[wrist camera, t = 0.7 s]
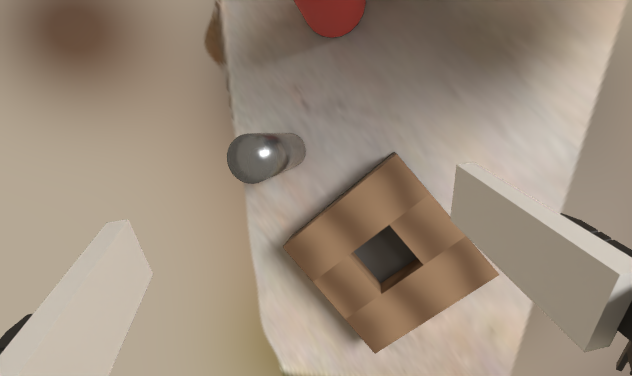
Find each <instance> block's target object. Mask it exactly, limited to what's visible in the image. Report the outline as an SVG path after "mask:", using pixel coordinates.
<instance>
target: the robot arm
mask: <svg viewBox="0 0 632 376" xmlns="http://www.w3.org/2000/svg"><path fill="white" fill-rule="evenodd" d="M450 220H451V221H452V222H453V223H454V224H455V225H456V226H457V227H458V228H459V229H460V230H461V231H462V232H463V233H464V234H465V235H466V236H467V237H468V238H469V239H470V240H471V241H472V242H473V243H474V244H475V245H476V246H477V247H478V248H479V249H480V250H481V251H482V252H483V253H484V254H485V255H486V256H487V257H488V258H489V259H490V260H491V261H492V262H493V263H494V264H495V265H496V266H497V267H498V268H499V269H500V270H501V271H502V272H503V273H504V274H505V275H506V276H507V277H508V278H509V279H510V280H511V281H512V282H513V283H514V284H515V285H516V286H517V287H518V288H519V289H520V290H521V291H522V292H523V293H524V294H525V295H527V296H528V297H529V298H530V299H531V300H532V301H533V302H534V303H535V304H536V305H537V306H538V307H539V308H540V309H541V310H542V311H543V312H544V313H545V314H546V315H547V316H548V317H549V318H550V319H551V320H552V321H553V322H554V323H555V324H556V325H557V326H558V327H559V328H560V329H561V330H562V331H563V332H564V333H565V334H566V335H567V336H568V337H569V338H570V339H571V340H572V341H573V342H574V343H575V344H576V345H577V346H578V347H579V348H580V349H581V350H582V351H583V352H587V351H592V350H596V349H600V348H604V347H609V346H610V344H611V342H612V341H613V339H614V337H615V335H616V333H617V331H619V332H620V333H622V334H623V335H624V336H625V337H627V338H628V339H629V342H628V344H627V345H626V347H625V349H624V351H623V353H622V354H621V356H620V358H619V360H618V362H617V365H616V370H619V371H622V370H623V368H624V366H625V365H626V363H627V362H629V364H630V367H631V372H630V375H632V250H631V249H629V248H627V247H626V246H624V245H622V244H620V243H619V242H617V241H615V240H611V238H610V237H609V236H607V235H605V234H604V233H602V232H598V230H596V229H595V228H593V227H592V226H590V225H588V224H586V223H585V222H583V221H581V220H578V219H576V218H573V217H570V216H568V215H565V214H562V213H560V214H559V213H557V212H556V211H554V210H552V209H551V208H549V207H548V206H546V205H544V204H543V203H541V202H539V201H538V200H536V199H534V198H533V197H531V196H529V195H528V194H526V193H524V192H523V191H521V190H519V189H518V188H516V187H515V186H513V185H511V184H510V183H508V182H506V181H505V180H503V179H501V178H500V177H498V176H496V175H495V174H493V173H491V172H490V171H488V170H486V169H485V168H483V167H482V166H480V165H478V164H477V163H475V162H470V163H464V164H458V165H457V166H456V174H455V183H454V191H453V200H452V209H451V217H450ZM152 276H153V273H152V270H151V268H150V266H149V264H148V262H147V259H146V257H145V255H144V253H143V251H142V248H141V246H140V244H139V242H138V240H137V237H136V235H135V233H134V231H133V229H132V227H131V224H130V222H129V220H128V219H126V220H120V221H113V222H107V223H106V224H105V225H104V227H103V228H102V229H101V230H100V232H99V233H98V234H97V235H96V237H95V238H94V239H93V240H92V242H91V243H90V244H89V245H88V247H87V248H86V249H85V250H84V251H83V253H82V254H81V255H80V256H79V258H78V259H77V260H76V262H75V263H74V264H73V265H72V266H71V268H70V269H69V270H68V271H67V273H66V274H65V275H64V276H63V278H62V279H61V280H60V281H59V283H58V284H57V285H56V286H55V287H54V289H53V290H52V291H51V292H50V294H49V295H48V296H47V297H46V299H45V300H44V301H43V302H42V304H41V305H40V306H39V307H38V309H37V310H36V311H35V312H34V313H33V314H29V315H26V316H25V317H24V318H23V319H22V320H20V321H19V322H18V323H17V324H15V325H14V326H13V327H12V328H10V329H9V330H8V331H7V332H6V333H5V334H4V335H3V336H2V337H1V339H0V376H109V374H110V371H111V369H112V367H113V365H114V362H115V360H116V358H117V356H118V353H119V351H120V349H121V346H122V344H123V342H124V339H125V337H126V335H127V333H128V331H129V328H130V326H131V324H132V321H133V319H134V317H135V315H136V312H137V310H138V308H139V305H140V303H141V301H142V299H143V297H144V294H145V292H146V290H147V287H148V285H149V283H150V281H151V278H152Z"/></svg>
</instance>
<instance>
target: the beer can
mask: <svg viewBox="0 0 632 376" xmlns="http://www.w3.org/2000/svg"><path fill="white" fill-rule="evenodd" d="M294 2H295V3H296V5H297V7H298V8H299V10H300V12H301V13H302V15H303V17H304V19H305V20H306V22H307V24H308V25H309V26H310V27H311V28H312V30H313V31H315V32H316V33H318V34H320V35H321V36H325V37H330V38H333V37H339V36H342V35H344V34H346V33H348V32H350V31H351V30H352V29H353V28H354V27H355V26H356V25H357V24H358V23H359V21H360V19H361V17H362V16H363V13H364V8H365V4H366V2H365V0H294Z"/></svg>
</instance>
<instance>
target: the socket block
mask: <svg viewBox="0 0 632 376" xmlns="http://www.w3.org/2000/svg"><path fill="white" fill-rule="evenodd" d="M283 248H284V249H285V250H286V252H287V253H288V254H289V255H290V256H291V257H292V258H293V260H294V261H295V262H296V263H297V264H298V265H299V267H300V268H301V269H302V270H303V271H304V272H305V273H306V275H307V276H308V277H309V278H310V279H311V280H312V282H313V283H314V284H315V285H316V286H317V287H318V288H319V290H320V291H321V292H322V293H323V294H324V295H325V297H326V298H327V299H328V300H329V301H330V302H331V303H332V305H333V306H334V307H335V308H336V309H337V310H338V312H339V313H340V314H341V315H342V316H343V317H344V319H345V320H346V321H347V322H348V323H349V324H350V325H351V327H352V328H353V329H354V330H355V331H356V332H357V334H358V335H359V336H360V337H361V338H362V339H363V340H364V342H365V343H366V344H367V345H368V346H369V347H370V349H371V350H372V351H373V352H374V353H377V352H378V351H380V350H382V349H383V348H385V347H386V346H388V345H389V344H391V343H393V342H394V341H396V340H397V339H399V338H401V337H402V336H404V335H405V334H407V333H408V332H410V331H412V330H413V329H415V328H416V327H418V326H419V325H421V324H423V323H424V322H426V321H427V320H429V319H430V318H432V317H434V316H435V315H437V314H438V313H440V312H442V311H443V310H445V309H446V308H448V307H449V306H451V305H453V304H454V303H456V302H457V301H459V300H460V299H462V298H464V297H465V296H467V295H468V294H470V293H471V292H473V291H475V290H476V289H478V288H479V287H481V286H483V285H484V284H486V283H487V282H489V281H490V280H492V279H494V278H495V277H497V276H498V275H499V274H498V272H497V271H496V270H495V269H494V268H493V267H492V265H491V264H490V263H489V262H488V261H487V259H486V258H485V257H484V256H483V255H482V254H481V252H480V251H479V250H478V249H477V248H476V247H475V245H474V244H473V243H472V242H471V241H470V240H469V238H468V237H467V236H466V235H465V234H464V233H463V232H462V231H461V230H460V229H459V228H458V227H457V226H456V225H455V224H454V223H453V222H452V221H451V220H450V216H449V215H448V214H447V212H446V211H445V210H444V209H443V208H442V207H441V205H440V204H439V203H438V202H437V201H436V200H435V198H434V197H433V196H432V195H431V194H430V193H429V191H428V190H427V189H426V188H425V187H424V185H423V184H422V183H421V182H420V181H419V180H418V178H417V177H416V176H415V175H414V174H413V173H412V171H411V170H410V169H409V168H408V167H407V165H406V164H405V163H404V162H403V161H402V160H401V158H400V157H399V156H398V155H397V154H396V153H395V152H394V153H393V154H391V155H390V156H389V157H388V158H386V159H385V160H384V161H383V162H382V163H380V164H379V165H378V166H377V167H375V168H374V169H373V170H372V171H371V172H369V173H368V174H367V175H366V176H365V177H363V178H362V179H361V180H360V181H358V182H357V183H356V184H355V185H354V186H352V187H351V188H350V189H349V190H347V191H346V192H345V193H344V194H343V195H341V196H340V197H339V198H338V199H336V200H335V201H334V202H333V203H332V204H330V205H329V206H328V207H327V208H326V209H324V210H323V211H322V212H321V213H319V214H318V215H317V216H316V217H315V218H313V219H312V220H311V221H310V222H308V223H307V224H306V225H305V226H304V227H302V228H301V229H300V230H299V231H298V232H296V233H295V234H294V235H293V236H291V237H290V239H289V240H288V241H287V243H286V244H285V245H284V246H283Z"/></svg>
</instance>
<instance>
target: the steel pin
mask: <svg viewBox="0 0 632 376" xmlns="http://www.w3.org/2000/svg"><path fill="white" fill-rule="evenodd" d="M305 153H306V148H305V144H304V142H303V141H302V139H301V138H300V137H298V136H297V135H295V134H291V133H266V134H243V135H241V136H239V137H237V138H236V139H235V140H234V141H233V142H232V143H231V144H230V147H229V149H228V153H227V162H228V166H229V168H230V170H231V172H232V174H234V176H235V177H236V178H237V179H239V180H240V181H242V182H245V183H250V184H254V183H259V182H261V181H264V180H266V179H268V178H270V177H273V176H275V175H277V174H279V173H282V172H284V171H286V170H288V169H291V168H293V167H295V166H297V165H299V164H300V163H301V162H302V161H303V159H304V157H305Z"/></svg>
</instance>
